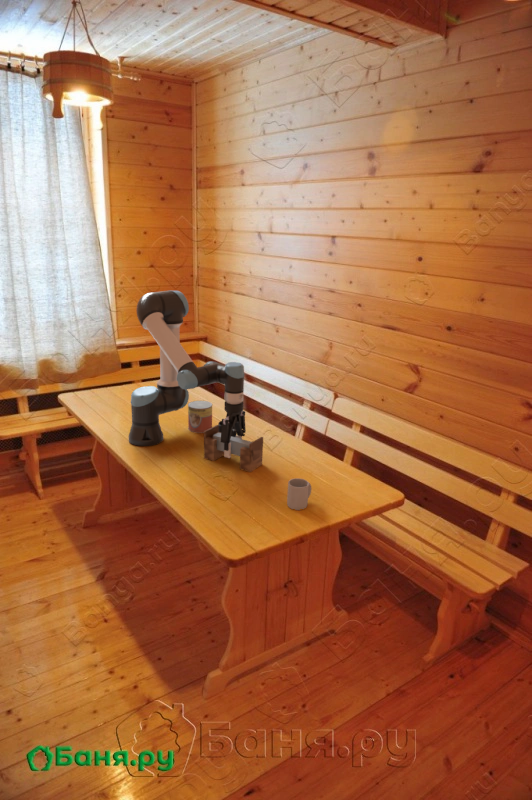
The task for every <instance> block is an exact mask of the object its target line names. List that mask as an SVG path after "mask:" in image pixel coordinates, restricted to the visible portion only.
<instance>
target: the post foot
mask: <svg viewBox="0 0 532 800" xmlns="http://www.w3.org/2000/svg"><path fill="white" fill-rule="evenodd" d="M251 442H252V443H250V444H249V448H246V447H242V448H240V456H239V469H240V470H242V471H245V472H248V473H251V472H253V471H254V470H256V469H257V468H259V467H261V466H262V465H263V455H264V452H263V451H264V436H261V437H259V438H257V439H255V440H254V441H251Z"/></svg>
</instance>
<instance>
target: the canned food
mask: <svg viewBox="0 0 532 800" xmlns="http://www.w3.org/2000/svg"><path fill="white" fill-rule="evenodd" d="M187 406H188V407H187V409H188V416H187V417H188V418H187V423H188V426H187V427H188V428H187V429H188V431H190V432H192V433H195V434H204V431H206V430H208V429H210V428H212V427H213V402H210V401H208V400H194V401H190V402H188V403H187Z"/></svg>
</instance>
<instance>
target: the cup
mask: <svg viewBox="0 0 532 800" xmlns="http://www.w3.org/2000/svg"><path fill="white" fill-rule="evenodd" d="M287 483H288V484H287V496H286V497H287V498H286V499H287V501H286V503H287V504H286V505H287V507H288V508H289V509H291V510H293V509H295V510H294V511H301V510H300V509H303V510H305V509H306V508H307V507H308V500H309V498H310V496H311V493H312V485H311V483H310V482H309V481H308V480H306V479H304V478H297V477H296V478H291V479H289V480H288V481H287ZM304 508H305V509H304Z"/></svg>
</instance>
